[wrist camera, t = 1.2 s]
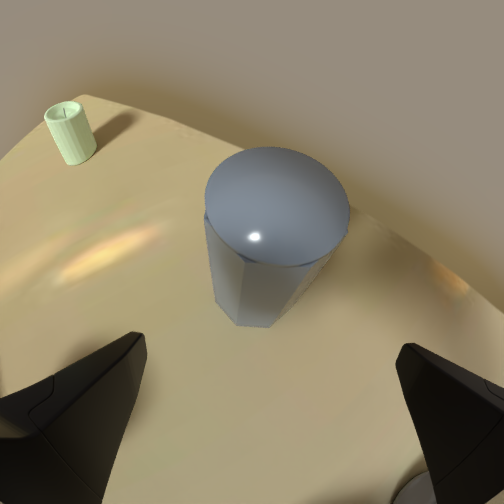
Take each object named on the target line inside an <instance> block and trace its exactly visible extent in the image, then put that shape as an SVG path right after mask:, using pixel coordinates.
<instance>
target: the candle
mask: <svg viewBox="0 0 504 504" xmlns="http://www.w3.org/2000/svg"><path fill="white" fill-rule="evenodd" d="M44 118H45V121H46V123H47V125H48V127H49V129H50V132H51V134H52V136H53V138H54V140H55V142H56V144H57V146H58V148H59V150H60V152H61V154H62V156H63V158H64V160H65V162H66V163H67V164H68V165H78V164H81V163H83V162H84V161H86V160H87V159H89V158H90V157H91V156H92V155H93V154H94V152H95V150H96V148H97V144H96V141H95V139H94V136H93V133H92V131H91V128H90V125H89V123H88V120H87V117H86V114H85V111H84V109H83V106H82V104H80V103H78V102H75V101H67V102H62V103H59V104H56V105H54V106H52V107H51V108H49V109H48V110H47V111H46V113H45V115H44Z"/></svg>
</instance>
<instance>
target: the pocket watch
mask: <svg viewBox="0 0 504 504" xmlns="http://www.w3.org/2000/svg"><path fill="white" fill-rule="evenodd" d="M393 504H437V502H436V498H435V494H434V490H433V485H432V482H431V478H430V474H429V471H427V472H424V473H422V474H420V475H418V476H416V477H415V478H413V479H412V480H411V481H410V482H408V483H407V484H406V485H405V487H404V488H403V489H402V490H401V491H400V492H399V494H398V496H397V497H396V499H395V501H394V502H393Z"/></svg>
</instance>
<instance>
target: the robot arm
mask: <svg viewBox="0 0 504 504" xmlns="http://www.w3.org/2000/svg"><path fill="white" fill-rule="evenodd" d="M146 360H147V349H146V342H145V336H144V334H143V333H139V332H133V331H132V332H130V333H128V334H126V335H124V336H122V337H121V338H119V339H117V340H115V341H113V342H111V343H110V344H108V345H106V346H104V347H102V348H101V349H99V350H97V351H95V352H93V353H91V354H90V355H88V356H86V357H84V358H82V359H80V360H79V361H77V362H75V363H73V364H71V365H69V366H68V367H66V368H64V369H62V370H60V371H58V372H57V373H55V374H54V375H51V376H49V377H47V378H45V379H43V380H41V381H39V382H37V383H35V384H33V385H31V386H29V387H27V388H24V389H22V390H20V391H17V392H15V393H12V394H10V395H7V396H5V397H2V398H0V504H102V499H103V497H104V493H105V490H106V487H107V483H108V480H109V477H110V474H111V470H112V467H113V464H114V461H115V458H116V455H117V452H118V449H119V446H120V443H121V440H122V438H123V435H124V432H125V429H126V426H127V423H128V421H129V418H130V415H131V412H132V410H133V407H134V404H135V402H136V399H137V396H138V392H139V388H140V384H141V380H142V376H143V372H144V368H145V364H146ZM396 370H397V373H398V377H399V380H400V384H401V387H402V391H403V395H404V398H405V401H406V404H407V407H408V410H409V412H410V415H411V418H412V421H413V423H414V426H415V429H416V432H417V435H418V438H419V441H420V444H421V447H422V450H423V454H424V457H425V460H426V464H427V467H428V471H429V474H430V478H431V482H432V485H433V490H434V494H435V498H436V502H437V504H504V388H502V387H500V386H498V385H496V384H494V383H492V382H490V381H488V380H486V379H483V378H482V377H480V376H478V375H476V374H474V373H472V372H470V371H468V370H466V369H464V368H462V367H460V366H458V365H456V364H454V363H452V362H450V361H448V360H447V359H445V358H443V357H441V356H439V355H437V354H435V353H433V352H431V351H429V350H427V349H425V348H423V347H421V346H419V345H417V344H415V343H406V344H404V345H403V346H402V348H401V351H400V353H399V355H398V358H397V360H396Z"/></svg>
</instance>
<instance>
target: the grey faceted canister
mask: <svg viewBox="0 0 504 504" xmlns="http://www.w3.org/2000/svg"><path fill="white" fill-rule="evenodd" d="M205 208H206V210H205V215H204V225H205V233H206V240H207V248H208V255H209V262H210V269H211V276H212V283H213V290H214V296H215V302H216V303H217V304H218V305H219V306H220V308H221V309H222V310H223V311H224V312H225V313H226V314H227V316H228V317H229V318H230V319H231V320H232V321H233V322H234V323H235V325H236V326H248V327H263V328H270V327H271V326H272V325H273V324H274V323H275V322H276V321H277V320H278V319H280V318H281V317H282V316H283V315H284V314H285V313H286V312H287V311H288V310H289V309H291V308H292V307H293V305H294V304H295V303H296V302H297V300H298V299H299V298H300V296H301V295H302V294H303V293H304V291H305V290H306V289H307V287H308V286H309V285H310V284H311V282H312V281H313V280H314V278H315V277H316V276H317V274H318V273H319V272H320V270H321V269H322V268H323V266H324V265H325V264H326V262H327V261H328V260H329V258H330V257H331V255H332V254H333V253H334V251H335V250H336V249H337V247H338V246H339V244H340V243H341V242H342V240H343V239H344V237H345V236H346V235H347V233H348V230H347V227H348V223H349V218H350V209H349V202H348V199H347V195H346V193H345V191H344V189H343V187H342V185H341V184H340V182H339V181H338V179H337V178H336V177H335V176H334V175H333V173H332V172H331V171H329V170H328V169H327V168H326V167H325V166H324V165H322V164H321V163H320V162H318V161H317V160H315V159H313V158H311V157H309V156H307V155H305V154H303V153H300V152H297V151H294V150H290V149H285V148H280V147H258V148H252V149H247V150H244V151H241V152H238V153H236V154H234V155H232V156H230V157H229V158H227V159H226V160H224V161H223V162H222V163H221V164H220V165H219V166H218V167H217V168H216V169H215V170H214V171H213V173H212V174H211V176H210V178H209V180H208V182H207V186H206V190H205Z"/></svg>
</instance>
